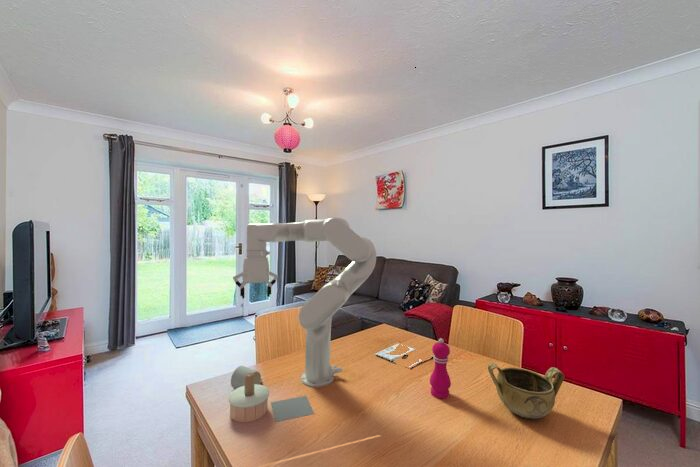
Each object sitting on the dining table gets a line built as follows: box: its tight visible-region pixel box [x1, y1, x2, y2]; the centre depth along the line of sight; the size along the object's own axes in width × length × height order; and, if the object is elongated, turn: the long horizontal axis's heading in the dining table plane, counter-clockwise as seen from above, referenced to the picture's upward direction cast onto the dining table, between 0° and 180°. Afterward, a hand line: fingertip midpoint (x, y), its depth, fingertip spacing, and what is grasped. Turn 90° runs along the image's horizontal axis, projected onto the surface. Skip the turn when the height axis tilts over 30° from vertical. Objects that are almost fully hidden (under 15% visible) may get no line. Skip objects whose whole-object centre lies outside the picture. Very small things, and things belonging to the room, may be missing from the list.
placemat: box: [270, 395, 315, 423], centre depth 99 cm, size 12×11×1 cm
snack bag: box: [374, 342, 422, 367], centre depth 141 cm, size 19×20×2 cm
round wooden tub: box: [229, 397, 269, 423], centre depth 97 cm, size 11×11×5 cm
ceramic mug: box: [230, 365, 263, 390], centre depth 112 cm, size 11×8×8 cm
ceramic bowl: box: [487, 362, 565, 420], centre depth 100 cm, size 22×17×15 cm
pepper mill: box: [429, 338, 452, 399], centre depth 110 cm, size 7×7×20 cm
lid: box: [228, 373, 270, 408], centre depth 97 cm, size 12×12×8 cm
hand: (255, 297), depth 123 cm, fingers open, 9 cm apart
